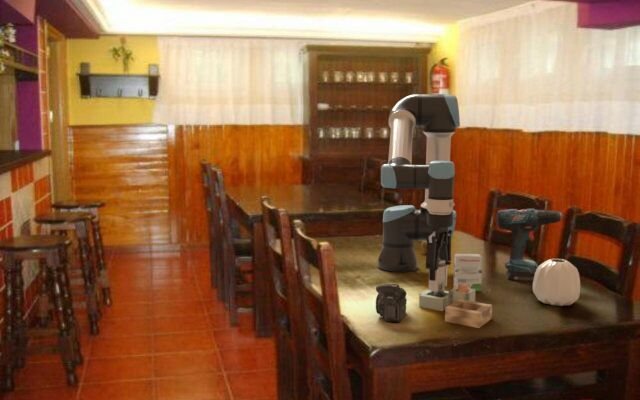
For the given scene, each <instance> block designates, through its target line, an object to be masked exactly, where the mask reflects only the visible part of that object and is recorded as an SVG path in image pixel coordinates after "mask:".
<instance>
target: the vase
mask: <svg viewBox="0 0 640 400" xmlns="http://www.w3.org/2000/svg"><path fill="white" fill-rule="evenodd" d="M532 292H533V294H534V295H535V298H537V300H538V301H539V302H541V303H543V304H547V305H551V306H559V307H564V306H571V305H573V304H574V303H576V302H577V301H578V300H579V298H580V293H581V279H580V273H579V270H578V268H577V267H576V266H575V265H574V264H572V263H571V262H570V261H568V260H566V259H563V258H550V259H548V260H545V261H544V262H542V263H541V264H539V265H538V268H537V270H536V272H535V276H534V280H533V281H532Z"/></svg>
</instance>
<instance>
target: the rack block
mask: <svg viewBox="0 0 640 400" xmlns="http://www.w3.org/2000/svg"><path fill="white" fill-rule="evenodd" d="M492 318H493V305H492V304H489V303H482V302H478V301H475V302H472V301H467V300H461V299H458V300H457V301H455V302H453V303H452V304H450V305H449V306H447V307H445V310H444V322H446V323H452V324H457V325H461V326H467V327H470V328H476V329H480V328H481V327H483V326H484V325H485V324H487V323H488V322H489V321H490V320H492Z"/></svg>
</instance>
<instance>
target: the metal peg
mask: <svg viewBox="0 0 640 400" xmlns="http://www.w3.org/2000/svg"><path fill="white" fill-rule="evenodd" d="M445 264H446V262H445V260H444V259H439V260H438V266H437V270H439V272H438V291H431V296H436V297H442V298H443V297H444V291H445V287H446V286H445Z"/></svg>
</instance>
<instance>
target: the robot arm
mask: <svg viewBox="0 0 640 400" xmlns="http://www.w3.org/2000/svg"><path fill="white" fill-rule="evenodd" d="M459 109H460V108H459V102H458V98H457V96H456V95H453V94H448V93H447V94H446V93H445V94H444V93H434V94H430V93H426V94H425V93H421V94H419V93H416V94H415V93H414V94H409V95H406V96H405V97H403V98H401V99H400V100H399V101H398V102H396V104H395V105H394V106H393V107H392V109H391V110H390V112H389V115H388V127H389V128H390V135H389V147H388V148H389V150H388V161H387V164H386V163H384V164H382V165H381V166H380V167H381V168H380V184H381V186H382V187H383V188H386V189H387V188H388V189H392V190H393V189H416V190H418V189H419V190H422V189H423V190H425V191H424V201H423V202H422V203H421V204H420V209H416V207H415V206H414V205H412V204H409V205H408V204H407V205H406V204H404V205H395V206H389V207H387V208H386V209H384V211H383V215H382V216H383V217H382V247H381V250H380V253H379V256H378V259H377V268H378V269H380V270H382V271H386V272H394V273H395V272H398V273H399V272H401V273H402V272H405V273H406V272H412V271H416V270H417V269H418V266H419V265H418V264H419V263H418V259H417V256H416V255H417V254H416V252H415V248H414V244H415V243H414V242H416V241H417V242H422V241H427V251H426V254H425V269H426V270H428V290H431V291H438V272H439V270H437V266H438V260H439V259H444V260H445V262H446V264H445V287H447V286H448V267H449V266H451V264H452V262H451V261H452V239H453V236H454V233H455V227H456V222H457V221H456V219H457V211H456V210H454V206H455V202H454V192H455V191H454V188H455V175H456V170H455V163H454V162H453V161H451V147H452V146H451V144H452V143H451V142H452V141H451V140H452V137H453V135H454V134H455V133H456V129H457V128H460V126H461V122H460V110H459ZM416 127H418V128H422V133H423V134H424V135H425V136H426V147H425V148H426V157H425V164H412V163H413V162H412V161H413V160H412V159H413V157H412V156H413V133H414V132H413V131H414V128H416ZM448 265H449V266H448Z"/></svg>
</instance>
